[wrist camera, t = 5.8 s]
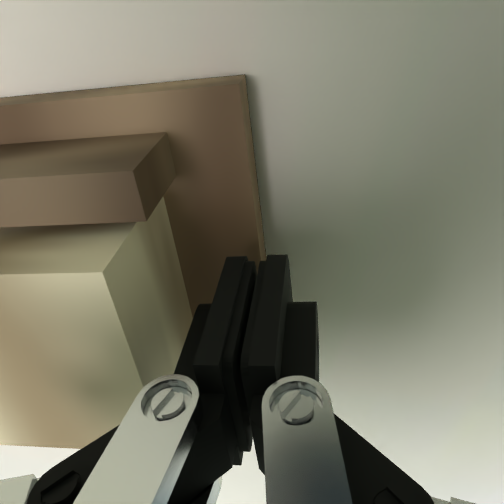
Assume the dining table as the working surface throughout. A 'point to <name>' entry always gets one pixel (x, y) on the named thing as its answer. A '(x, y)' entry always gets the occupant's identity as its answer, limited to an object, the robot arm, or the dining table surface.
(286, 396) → the robot arm
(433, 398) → the dining table surface
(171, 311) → the beech block
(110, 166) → the chute
